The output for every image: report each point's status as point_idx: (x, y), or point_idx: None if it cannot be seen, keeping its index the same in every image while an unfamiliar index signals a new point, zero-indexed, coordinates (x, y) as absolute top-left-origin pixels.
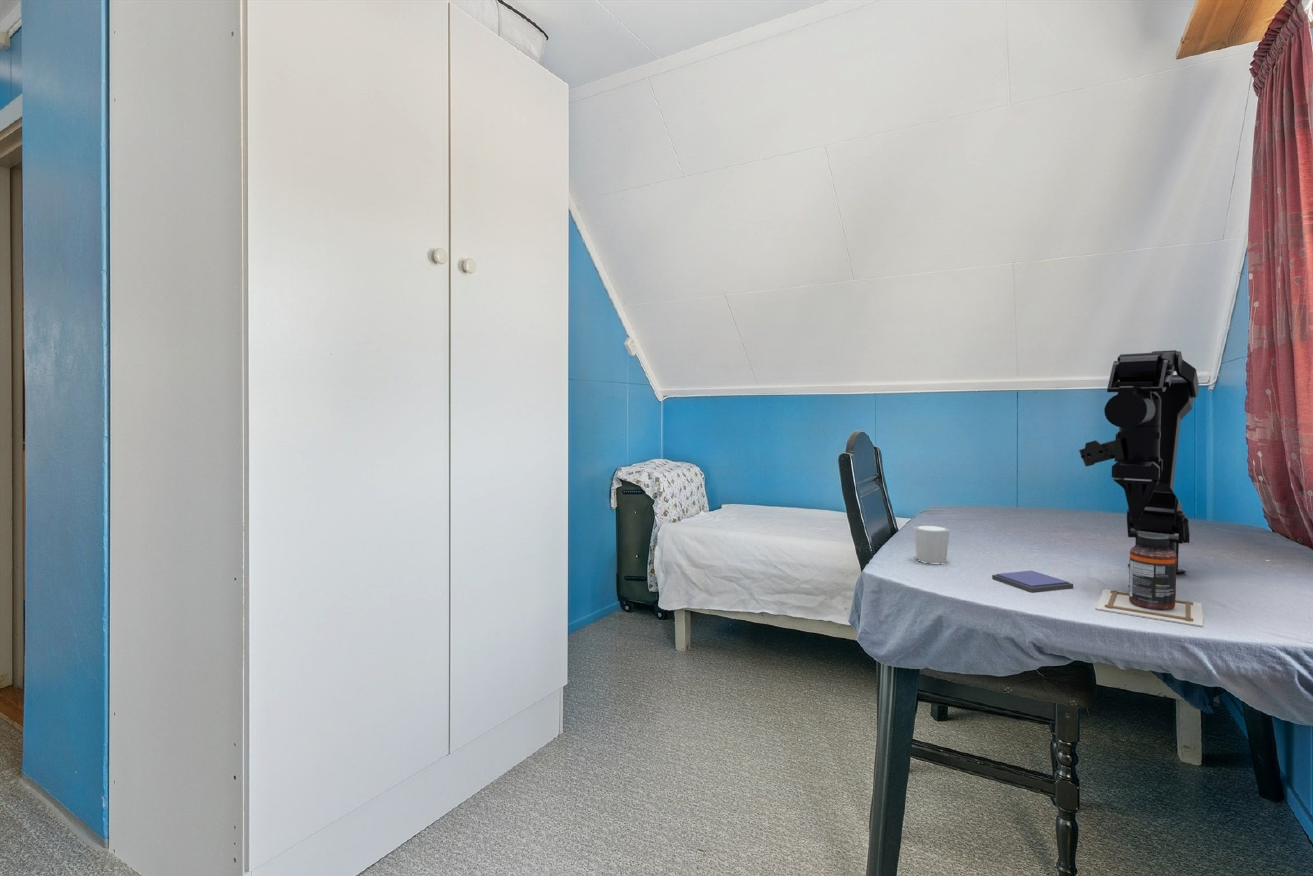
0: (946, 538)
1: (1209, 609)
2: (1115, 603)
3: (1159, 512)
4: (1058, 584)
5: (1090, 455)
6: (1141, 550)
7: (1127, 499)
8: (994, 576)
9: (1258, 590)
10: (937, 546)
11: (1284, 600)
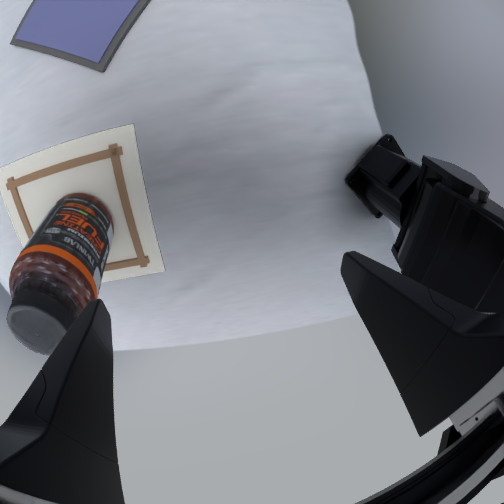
0: None
1: (145, 281)
2: (41, 180)
3: (429, 265)
4: (72, 54)
5: None
6: (12, 290)
7: (39, 376)
8: None
9: (318, 294)
10: None
11: (278, 320)
